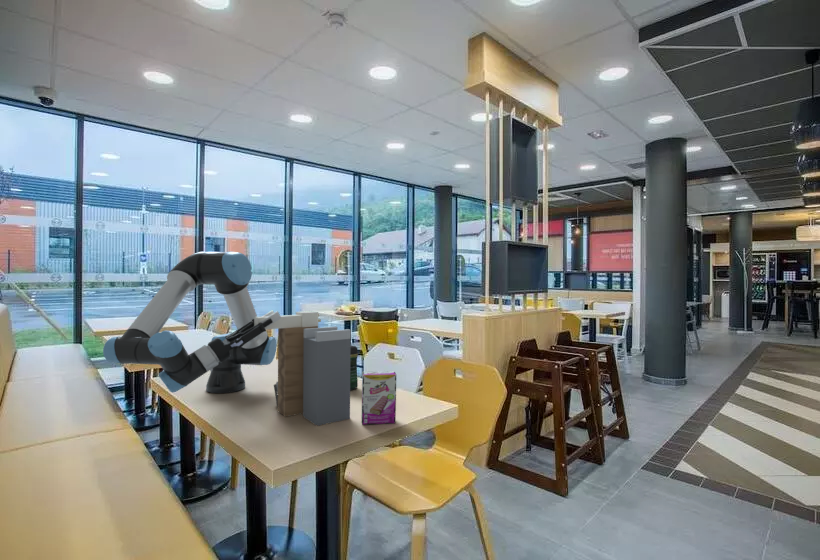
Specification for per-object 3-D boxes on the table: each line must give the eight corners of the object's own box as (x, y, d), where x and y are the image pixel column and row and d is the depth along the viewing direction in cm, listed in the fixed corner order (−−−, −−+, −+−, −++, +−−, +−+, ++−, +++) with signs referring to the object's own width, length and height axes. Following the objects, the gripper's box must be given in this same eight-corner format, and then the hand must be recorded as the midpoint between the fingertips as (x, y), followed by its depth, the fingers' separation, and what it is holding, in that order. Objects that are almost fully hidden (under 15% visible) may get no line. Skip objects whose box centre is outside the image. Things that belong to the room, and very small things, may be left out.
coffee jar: (360, 388, 183) (361, 345, 183) (345, 392, 177) (346, 347, 177) (347, 384, 190) (347, 342, 190) (332, 387, 184) (332, 344, 184)
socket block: (303, 416, 146) (303, 328, 146) (334, 410, 153) (335, 326, 153) (316, 425, 137) (317, 332, 137) (349, 418, 144) (350, 329, 144)
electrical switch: (280, 408, 155) (279, 382, 156) (272, 406, 159) (271, 381, 159) (302, 402, 163) (300, 377, 163) (293, 401, 166) (292, 376, 166)
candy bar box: (361, 425, 138) (362, 374, 138) (361, 420, 143) (361, 371, 143) (396, 424, 140) (396, 373, 139) (394, 418, 145) (394, 370, 144)
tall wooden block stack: (277, 411, 151) (278, 326, 151) (309, 405, 159) (310, 324, 158) (284, 416, 146) (285, 328, 145) (317, 410, 153) (318, 326, 153)
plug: (253, 328, 145) (253, 313, 145) (315, 324, 159) (315, 310, 159) (258, 330, 141) (258, 315, 141) (322, 325, 154) (322, 312, 154)
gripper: (213, 359, 143) (273, 320, 155) (226, 368, 129) (291, 325, 141) (201, 340, 141) (263, 303, 153) (213, 348, 127) (280, 306, 139)
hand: (276, 314), depth 147 cm, fingers closed on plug, 4 cm apart
